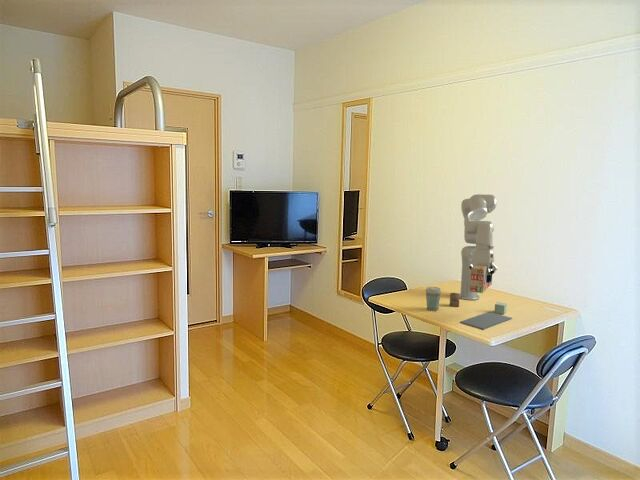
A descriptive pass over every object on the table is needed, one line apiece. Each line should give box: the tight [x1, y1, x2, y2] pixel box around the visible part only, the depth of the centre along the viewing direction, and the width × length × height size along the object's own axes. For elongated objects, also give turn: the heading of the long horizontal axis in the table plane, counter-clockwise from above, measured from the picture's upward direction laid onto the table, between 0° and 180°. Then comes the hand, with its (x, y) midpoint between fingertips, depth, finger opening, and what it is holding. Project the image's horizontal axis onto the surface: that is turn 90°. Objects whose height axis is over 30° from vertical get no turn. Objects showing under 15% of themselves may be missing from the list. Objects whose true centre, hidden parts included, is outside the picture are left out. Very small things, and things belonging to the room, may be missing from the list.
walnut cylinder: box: [449, 292, 460, 308], centre depth 256 cm, size 5×5×7 cm
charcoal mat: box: [459, 311, 513, 331], centre depth 231 cm, size 27×13×1 cm, turn 129°
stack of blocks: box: [470, 265, 493, 294], centre depth 232 cm, size 21×6×12 cm, turn 148°
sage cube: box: [493, 302, 508, 316], centre depth 245 cm, size 5×5×5 cm
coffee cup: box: [425, 286, 442, 312], centre depth 248 cm, size 8×8×12 cm
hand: (481, 280), depth 232 cm, fingers closed on stack of blocks, 7 cm apart
